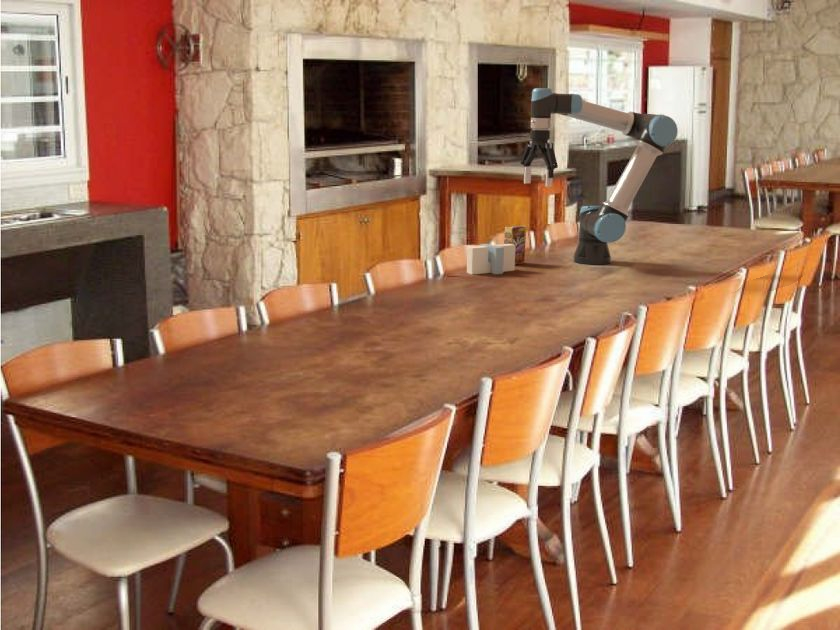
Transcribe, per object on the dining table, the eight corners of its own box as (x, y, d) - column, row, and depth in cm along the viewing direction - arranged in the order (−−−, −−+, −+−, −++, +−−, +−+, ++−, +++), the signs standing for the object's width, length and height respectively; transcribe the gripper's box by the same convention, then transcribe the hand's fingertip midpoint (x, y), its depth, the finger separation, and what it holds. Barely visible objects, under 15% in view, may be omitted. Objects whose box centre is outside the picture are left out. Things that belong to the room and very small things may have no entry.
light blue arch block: (478, 269, 423) (479, 244, 421) (486, 269, 425) (487, 243, 422) (495, 274, 414) (496, 248, 412) (502, 273, 415) (503, 247, 413)
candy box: (510, 265, 433) (511, 227, 430) (502, 264, 436) (503, 226, 433) (525, 263, 440) (526, 225, 436) (517, 262, 443) (518, 224, 439)
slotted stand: (509, 269, 426) (510, 243, 424) (514, 270, 423) (515, 244, 421) (466, 272, 415) (467, 246, 413) (471, 274, 413) (472, 248, 410)
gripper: (513, 127, 425) (510, 182, 430) (552, 131, 405) (550, 188, 409) (528, 127, 429) (526, 181, 434) (568, 130, 409) (565, 187, 413)
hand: (537, 185), depth 422 cm, fingers open, 13 cm apart
